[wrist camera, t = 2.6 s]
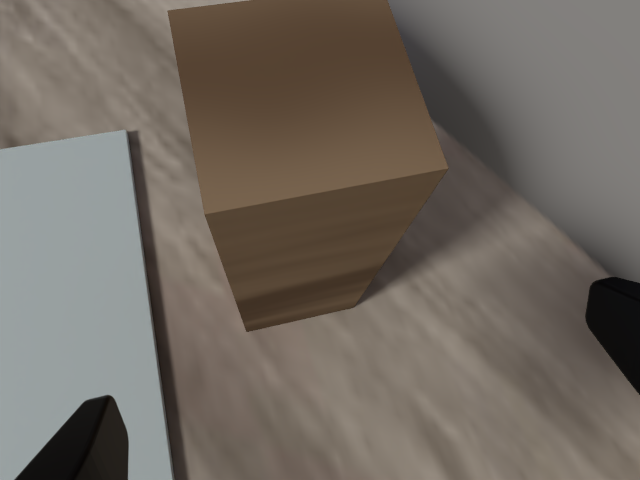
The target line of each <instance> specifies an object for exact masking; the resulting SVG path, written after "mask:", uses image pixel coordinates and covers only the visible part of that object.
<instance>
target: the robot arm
mask: <svg viewBox="0 0 640 480" xmlns="http://www.w3.org/2000/svg"><path fill="white" fill-rule="evenodd" d="M585 318H586V323H587V325H588V327H589V329H590V331H591V332H592V333H593V334H594V336H595V337H596V338H597V340H598V341H599V342H600V344H601V345H602V346H603V348H604V349H605V350H606V352H607V353H608V354H609V356H610V357H611V358H612V360H613V361H614V362H615V364H616V365H617V366H618V368H619V369H620V370H621V372H622V373H623V374H624V376H625V377H626V378H627V380H628V381H629V382H630V383H631V385H632V386H633V387H634V389H635V390H636V391H637V392H638V393H639V395H640V283H637V282H633V281H629V280H625V279H621V278H617V277H609V278H605V279H601V280H597V281H595V282H593V283H592V285H591V286H590V290H589V296H588V302H587V308H586V315H585ZM128 456H129V440H128V433H127V429H126V426H125V424H124V421H123V419H122V416H121V414H120V411H119V409H118V406H117V403H116V401H115V399H114V398H113V397H112V396H111V395H104V396H100V397H95V398H91V399H88V400H86V401H84V402H83V403H82V404H81V405H80V406H79V407H78V409H77V410H76V411H75V412H74V413H73V414H72V415H71V416H70V418H69V419H68V420H67V421H66V422H65V423H64V424H63V425H62V426H61V428H60V429H59V430H58V431H57V432H56V433H55V434H54V435H53V437H52V438H51V439H50V440H49V441H48V442H47V443H46V444H45V446H44V447H43V448H42V449H41V450H40V451H39V452H38V453H37V455H36V456H35V457H34V458H33V459H32V460H31V461H30V462H29V464H28V465H27V466H26V467H25V468H24V469H23V470H22V471H21V472H20V474H19V475H18V476H17V477H16V478H15V479H14V480H128Z"/></svg>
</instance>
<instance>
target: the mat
mask: <svg viewBox="0 0 640 480" xmlns="http://www.w3.org/2000/svg"><path fill="white" fill-rule="evenodd" d="M104 395H111V396H112V397H113V398H114V399H115V401H116V403H117V406H118V409H119V411H120V414H121V416H122V419H123V421H124V424H125V426H126V429H127V433H128V440H129V456H128V480H175V478H174V471H173V463H172V456H171V449H170V441H169V434H168V426H167V419H166V412H165V404H164V397H163V390H162V382H161V375H160V367H159V360H158V353H157V345H156V338H155V330H154V323H153V316H152V308H151V301H150V294H149V286H148V279H147V271H146V264H145V257H144V249H143V242H142V235H141V227H140V220H139V212H138V205H137V198H136V190H135V183H134V175H133V168H132V161H131V153H130V146H129V139H128V134H127V132H126V130H120V131H114V132H108V133H101V134H95V135H89V136H82V137H76V138H70V139H63V140H57V141H51V142H44V143H38V144H32V145H25V146H19V147H13V148H6V149H0V480H14V479H15V478H16V477H17V476H18V475H19V474H20V472H21V471H22V470H23V469H24V468H25V467H26V466H27V465H28V464H29V462H30V461H31V460H32V459H33V458H34V457H35V456H36V455H37V453H38V452H39V451H40V450H41V449H42V448H43V447H44V446H45V444H46V443H47V442H48V441H49V440H50V439H51V438H52V437H53V435H54V434H55V433H56V432H57V431H58V430H59V429H60V428H61V426H62V425H63V424H64V423H65V422H66V421H67V420H68V419H69V418H70V416H71V415H72V414H73V413H74V412H75V411H76V410H77V409H78V407H79V406H80V405H81V404H82V403H83V402H84V401H86V400H88V399H91V398H95V397H100V396H104Z"/></svg>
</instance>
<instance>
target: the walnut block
mask: <svg viewBox="0 0 640 480" xmlns="http://www.w3.org/2000/svg"><path fill="white" fill-rule="evenodd" d="M168 16H169V21H170V27H171V32H172V38H173V43H174V49H175V54H176V60H177V65H178V71H179V76H180V82H181V87H182V93H183V98H184V104H185V109H186V115H187V120H188V126H189V131H190V137H191V142H192V148H193V153H194V159H195V164H196V170H197V175H198V181H199V186H200V192H201V197H202V203H203V208H204V214H205V217H206V220H207V223H208V225H209V228H210V231H211V234H212V236H213V239H214V242H215V245H216V248H217V250H218V253H219V256H220V259H221V262H222V264H223V267H224V270H225V273H226V276H227V278H228V281H229V284H230V287H231V290H232V292H233V295H234V298H235V301H236V304H237V306H238V309H239V312H240V315H241V318H242V320H243V323H244V326H245V329H246V332H249V331H253V330H258V329H262V328H266V327H271V326H275V325H280V324H284V323H288V322H293V321H297V320H301V319H306V318H310V317H315V316H319V315H323V314H328V313H332V312H337V311H341V310H345V309H350V308H354V306H355V305H356V303H357V302H358V300H359V299H360V297H361V296H362V294H363V293H364V292H365V290H366V289H367V287H368V286H369V284H370V283H371V281H372V280H373V278H374V277H375V275H376V274H377V272H378V271H379V270H380V268H381V267H382V265H383V264H384V262H385V261H386V259H387V258H388V256H389V255H390V253H391V252H392V251H393V249H394V248H395V246H396V245H397V243H398V242H399V240H400V239H401V237H402V236H403V234H404V233H405V232H406V230H407V229H408V227H409V226H410V224H411V223H412V221H413V220H414V218H415V217H416V215H417V214H418V212H419V211H420V210H421V208H422V207H423V205H424V204H425V202H426V201H427V199H428V198H429V196H430V195H431V193H432V192H433V191H434V189H435V188H436V186H437V185H438V183H439V182H440V180H441V179H442V177H443V176H444V174H445V173H446V171H447V170H448V169H449V168H448V165H447V163H446V160H445V157H444V154H443V152H442V149H441V146H440V143H439V141H438V138H437V135H436V132H435V130H434V127H433V124H432V121H431V119H430V116H429V113H428V111H427V108H426V105H425V102H424V99H423V97H422V94H421V91H420V88H419V86H418V83H417V80H416V77H415V75H414V72H413V69H412V67H411V64H410V61H409V59H408V56H407V53H406V50H405V47H404V45H403V42H402V39H401V37H400V34H399V31H398V28H397V25H396V23H395V20H394V17H393V14H392V12H391V9H390V6H389V3H388V1H387V0H250V1H242V2H233V3H225V4H217V5H209V6H201V7H193V8H185V9H177V10H169V11H168Z"/></svg>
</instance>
